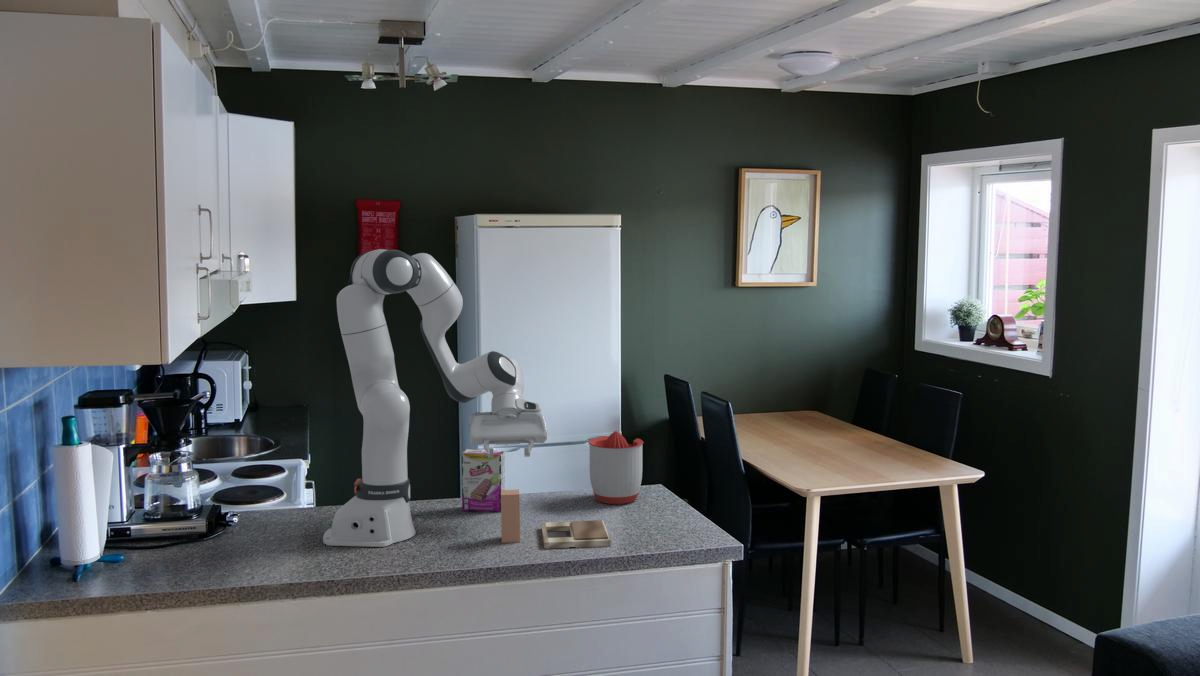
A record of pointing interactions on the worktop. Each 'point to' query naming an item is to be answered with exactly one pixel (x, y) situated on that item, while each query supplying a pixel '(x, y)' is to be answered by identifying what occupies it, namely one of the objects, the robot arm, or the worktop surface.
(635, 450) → the citrus juicer
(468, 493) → the candy bar box
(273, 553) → the worktop surface
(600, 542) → the hole board
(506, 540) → the terracotta block
